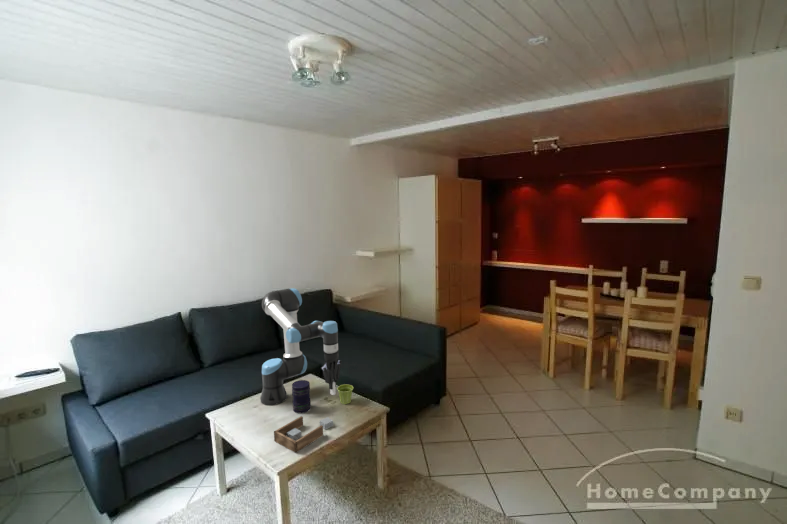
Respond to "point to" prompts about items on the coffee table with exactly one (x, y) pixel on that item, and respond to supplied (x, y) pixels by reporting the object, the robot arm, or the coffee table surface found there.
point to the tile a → (294, 434)
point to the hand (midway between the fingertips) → (332, 394)
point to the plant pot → (345, 393)
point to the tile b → (326, 423)
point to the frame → (300, 443)
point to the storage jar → (301, 396)
